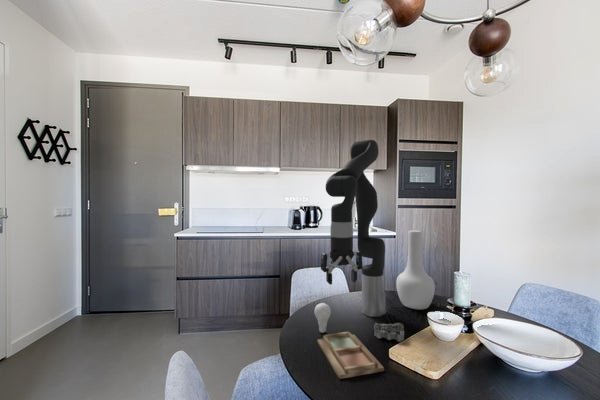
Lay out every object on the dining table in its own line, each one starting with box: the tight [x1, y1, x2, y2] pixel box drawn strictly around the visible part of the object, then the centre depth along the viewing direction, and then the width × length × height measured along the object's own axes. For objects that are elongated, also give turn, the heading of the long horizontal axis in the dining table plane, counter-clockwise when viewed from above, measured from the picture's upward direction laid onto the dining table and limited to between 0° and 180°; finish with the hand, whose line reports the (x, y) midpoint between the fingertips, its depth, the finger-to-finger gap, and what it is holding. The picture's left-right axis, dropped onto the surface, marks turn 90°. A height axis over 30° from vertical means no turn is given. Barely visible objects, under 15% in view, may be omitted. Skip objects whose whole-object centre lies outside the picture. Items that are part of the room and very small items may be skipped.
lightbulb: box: [314, 302, 332, 334], centre depth 102 cm, size 6×6×11 cm
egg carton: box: [373, 322, 405, 343], centre depth 100 cm, size 11×8×4 cm
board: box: [316, 331, 385, 380], centre depth 88 cm, size 14×20×2 cm
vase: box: [396, 229, 436, 310], centre depth 128 cm, size 17×17×35 cm
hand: (341, 282), depth 92 cm, fingers open, 8 cm apart
